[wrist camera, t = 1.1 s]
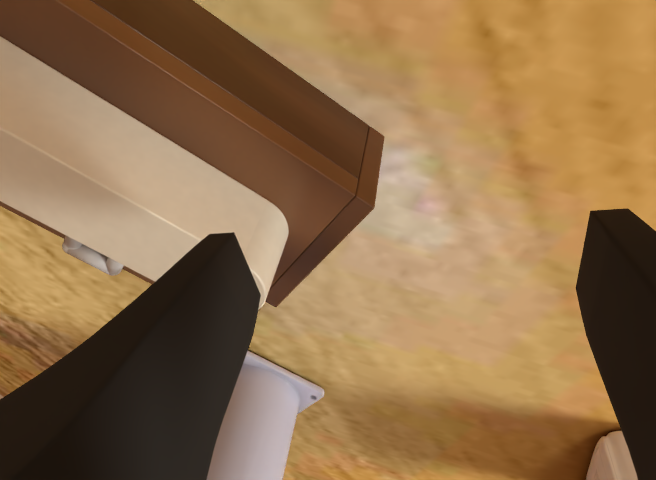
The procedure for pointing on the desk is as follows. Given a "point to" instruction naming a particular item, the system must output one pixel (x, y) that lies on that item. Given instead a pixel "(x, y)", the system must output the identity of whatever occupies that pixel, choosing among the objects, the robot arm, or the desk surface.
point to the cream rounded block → (118, 180)
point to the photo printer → (611, 459)
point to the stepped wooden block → (215, 110)
